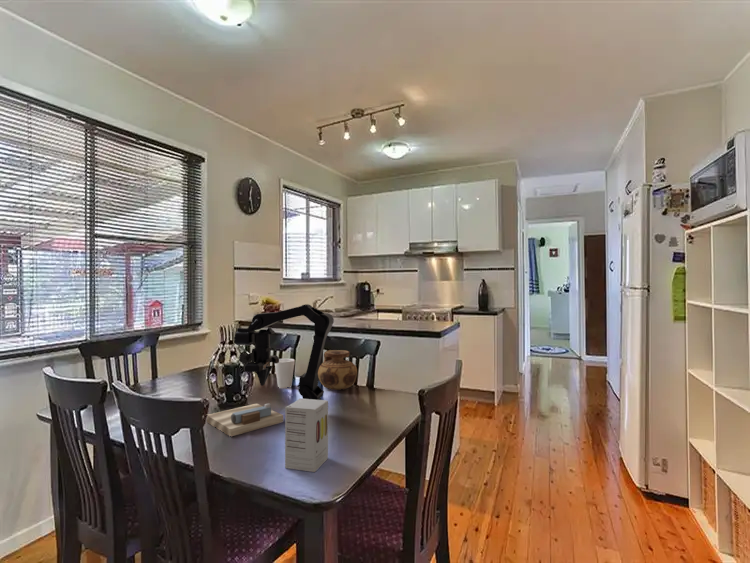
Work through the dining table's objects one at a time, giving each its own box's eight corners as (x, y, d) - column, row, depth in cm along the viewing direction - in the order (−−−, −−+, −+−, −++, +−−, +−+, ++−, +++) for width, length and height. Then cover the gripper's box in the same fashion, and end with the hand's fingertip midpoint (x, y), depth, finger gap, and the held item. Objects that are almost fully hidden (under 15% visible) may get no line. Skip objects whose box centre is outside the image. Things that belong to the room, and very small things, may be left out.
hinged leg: (268, 412, 147) (268, 402, 147) (272, 414, 145) (272, 404, 145) (230, 421, 138) (230, 411, 138) (234, 423, 136) (234, 413, 136)
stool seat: (283, 421, 145) (283, 415, 145) (230, 436, 131) (230, 429, 131) (256, 409, 160) (256, 403, 160) (206, 421, 146) (206, 415, 146)
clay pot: (367, 379, 198) (359, 344, 191) (347, 402, 183) (338, 365, 176) (335, 374, 208) (327, 340, 201) (314, 396, 193) (304, 360, 186)
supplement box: (315, 473, 106) (315, 409, 106) (284, 468, 109) (284, 407, 109) (329, 457, 115) (328, 399, 115) (299, 454, 118) (299, 397, 118)
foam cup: (291, 389, 190) (291, 362, 190) (272, 389, 190) (272, 362, 190) (296, 384, 200) (296, 358, 200) (277, 384, 200) (277, 358, 200)
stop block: (259, 420, 139) (259, 412, 139) (243, 425, 135) (243, 416, 135) (257, 419, 141) (257, 411, 141) (241, 423, 137) (241, 414, 137)
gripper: (254, 341, 166) (254, 379, 166) (230, 348, 148) (230, 391, 148) (279, 342, 164) (279, 379, 164) (258, 349, 146) (258, 392, 146)
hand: (262, 385), depth 155 cm, fingers closed
